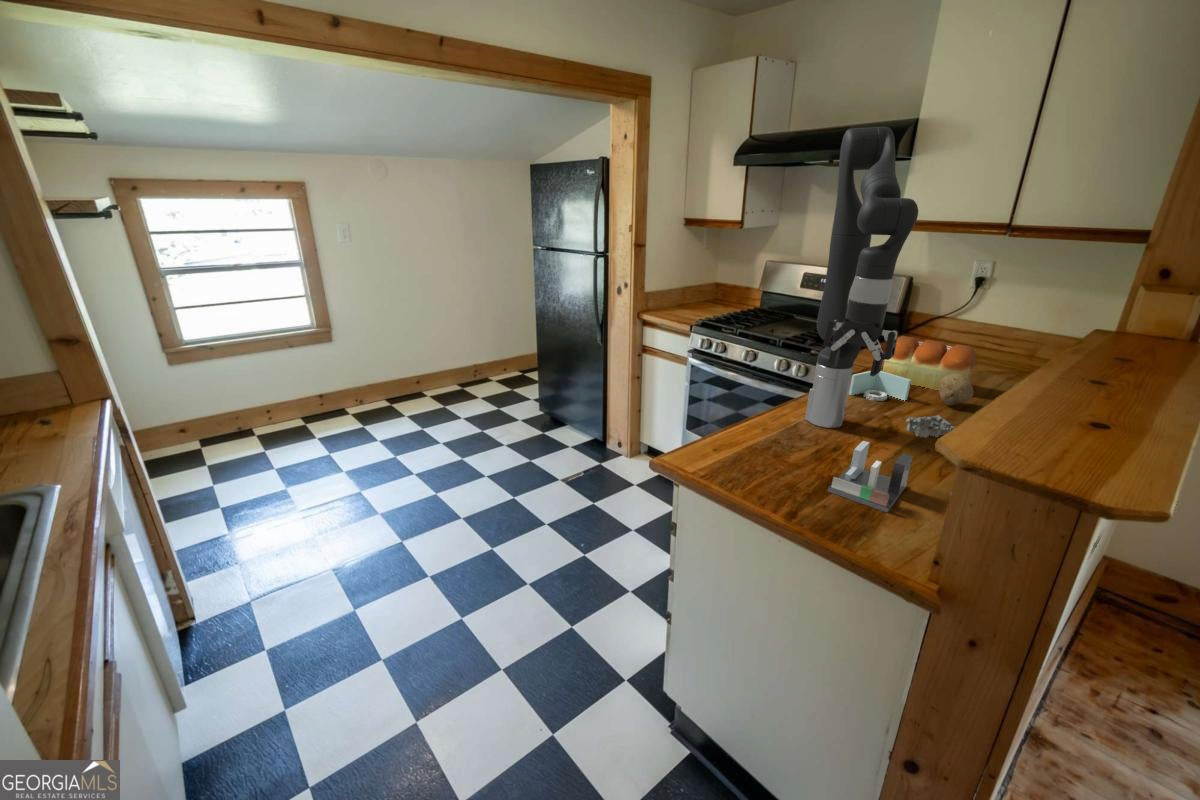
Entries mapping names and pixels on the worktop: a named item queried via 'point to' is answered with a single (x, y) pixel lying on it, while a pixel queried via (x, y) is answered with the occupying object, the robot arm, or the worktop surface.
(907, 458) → the stand
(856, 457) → the block
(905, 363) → the bread
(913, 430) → the jagged gray rock
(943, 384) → the natural sponge
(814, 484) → the worktop surface
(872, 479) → the bar
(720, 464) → the worktop surface
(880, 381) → the l-shaped corner panel
